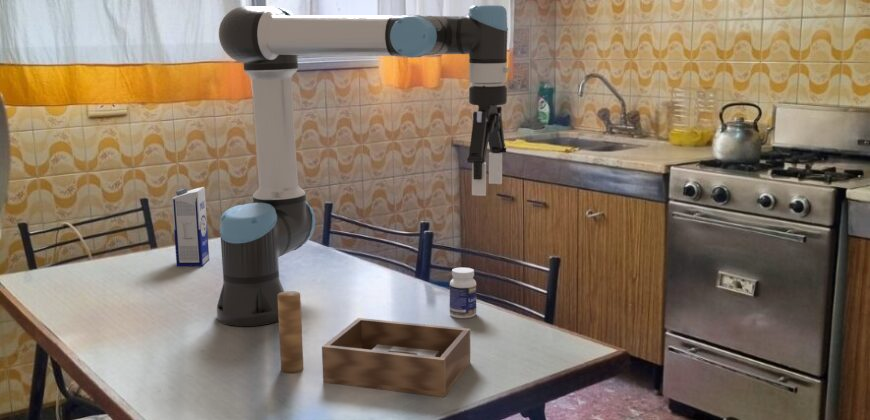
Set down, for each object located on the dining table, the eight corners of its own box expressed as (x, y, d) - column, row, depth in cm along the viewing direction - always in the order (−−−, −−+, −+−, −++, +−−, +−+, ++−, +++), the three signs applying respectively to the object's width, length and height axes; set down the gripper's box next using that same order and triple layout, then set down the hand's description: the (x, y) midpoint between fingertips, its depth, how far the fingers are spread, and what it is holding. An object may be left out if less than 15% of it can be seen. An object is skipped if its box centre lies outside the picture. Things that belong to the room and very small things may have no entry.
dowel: (277, 371, 159) (273, 296, 156) (287, 363, 162) (284, 290, 160) (297, 374, 157) (293, 298, 155) (307, 366, 161) (304, 292, 158)
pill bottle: (474, 320, 186) (474, 274, 183) (447, 318, 187) (447, 272, 185) (478, 311, 191) (478, 266, 189) (452, 310, 192) (452, 265, 190)
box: (323, 382, 154) (321, 346, 152) (359, 350, 169) (358, 317, 167) (444, 397, 147) (443, 360, 146) (470, 362, 162) (470, 328, 161)
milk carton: (202, 266, 229) (197, 190, 225) (176, 266, 229) (170, 190, 225) (209, 259, 236) (204, 185, 232) (184, 259, 236) (179, 185, 232)
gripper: (491, 89, 164) (490, 201, 168) (519, 81, 187) (518, 180, 192) (452, 88, 166) (452, 199, 171) (485, 80, 189) (484, 178, 194)
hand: (487, 189), depth 181 cm, fingers open, 13 cm apart
